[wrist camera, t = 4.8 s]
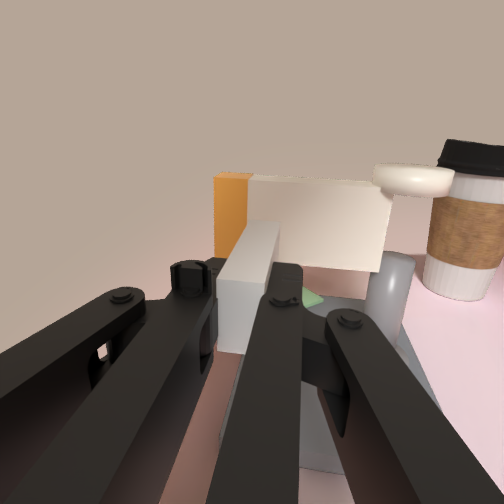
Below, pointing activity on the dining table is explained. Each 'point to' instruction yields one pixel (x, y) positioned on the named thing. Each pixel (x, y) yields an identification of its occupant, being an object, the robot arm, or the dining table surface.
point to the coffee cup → (467, 222)
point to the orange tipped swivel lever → (333, 225)
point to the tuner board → (311, 415)
